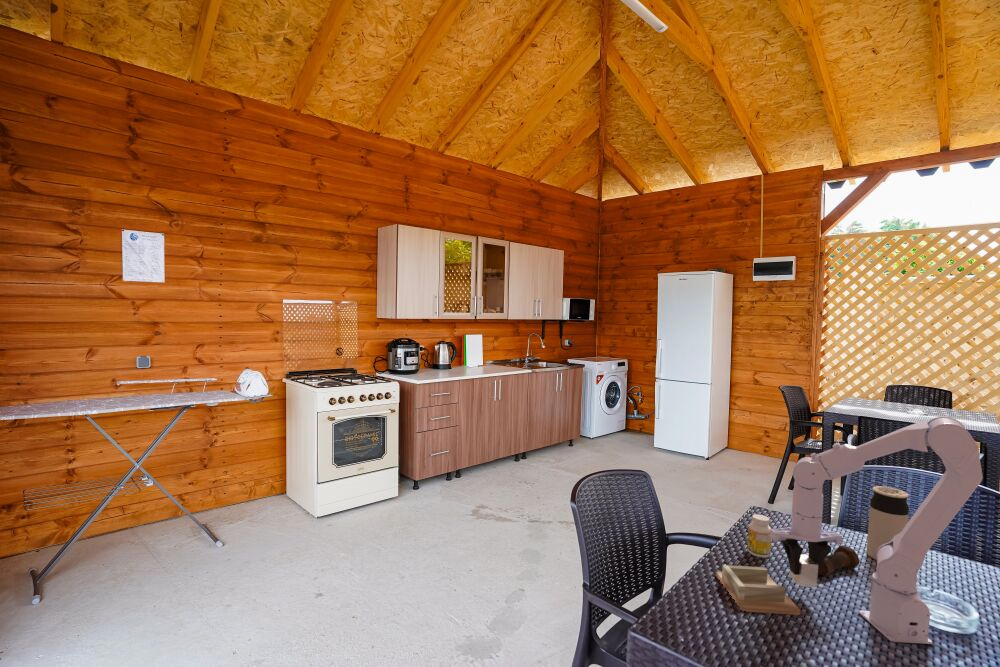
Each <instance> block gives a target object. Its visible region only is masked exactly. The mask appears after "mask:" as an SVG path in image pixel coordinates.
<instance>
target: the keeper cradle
mask: <svg viewBox="0 0 1000 667" xmlns="http://www.w3.org/2000/svg"><path fill="white" fill-rule="evenodd" d="M768 573H769V572H768V569H767V568H766V567H765V566H763V567H762V566H745V565H728V564H727V565H726V564H723V565H722V570H721V571H716V573H715V576H716V578H717V579H718V581H719V580H720V581H719V582H720V584H723V585H722V586H723V587H724V589H725V588H726V589H725V590H726V591H728V592H729V593H728V592H727V593H728V594H729V596H730V595H731V596H732V597H731V596H730V597H731V599H734V600H735V601H734V600H733V601H734V603H735V604H736V603H737V604H736V605H737V607H738V606H739V607H740V608H739V607H738V608H739V609H740V611H741V610H742V611H741V612H744V611H746V612H745V613H747V612H748V613H760V614H761V613H764V614H778V615H779V614H780V615H796V616H800V615H801V612H802V611H801V609H800V607H798V606H797V605H796V603H795V602H794V601H793V600H792V599H791V598H790V597H789V596H788V595H787V594H786V588H785V587H784V586H783V585H778V584H777V583H776V582H775V580H773V579H772V578H771V576H769V574H768Z"/></svg>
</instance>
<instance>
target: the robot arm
mask: <svg viewBox="0 0 1000 667" xmlns="http://www.w3.org/2000/svg"><path fill="white" fill-rule="evenodd" d="M928 447H930V448H931V449H932V451H933V452H935V454H936V455H938V457H939V458H940V460H941V461H942V464H943V466H944V467H945V472H944V473H943V474H942V476H941V477H940V478H939V479H938V481H937V483H936V484H935V485H934V486H933V488H932V489H931V491H930V492H929V493H928V495H927V496H926V497H925V498H924V500H923V502H922V503H921V504H920V505H919V506H918V508H917V509H916V510H915V512H914V513H913V515H912V516H911V518H909V519H908V523H907V524H906V526H905V527H904V528H903V530H902V531H901V532H900V533H899V534H897V535H895V536H894V537H893V539H892V540H891V541H890V542H888V543H885V544H883V545H881V546H880V547H879V548H878V549H877V552H876V557H877V560H876V564H877V565H876V567H875V571H874V572H873V573H872V576H871V589H870V602H869V610H859V611H858V613H859V614H860V616H862V617H863V618H864V619H865V620H866V621H867V622H869V623H870V624H871V625H872V626H873V627H874V628H875V629H876V630H877V631H879V633H881V635H883V636H884V637H885V638H886V639H887V640H889V641H890V642H892V643H907V644H923V645H924V644H925V645H932V644H933V641H932V640H931V639H930V638H929V633H930V632H929V631H930V617H931V612H930V608H929V606H927V604H926V603H925V601H923V600H922V599H921V596H920V595H919V591H918V589H919V588H918V585H917V583H918V573H919V571H920V569H921V568H922V566H923V564H924V561H925V558H926V556H927V553H928V551H929V550H930V549H931V548H932V547H933V545H934V544H935V543H936V541H937V540H938V539H939V538H940V536H941V535H942V534H943V533H944V531H945V529H946V528H947V527H948V526H949V524H950V523H951V522H952V521H953V520H954V518H955V517H956V515H957V514H958V513H959V511H960V510H961V509H962V508H963V506H964V505H965V504H966V502H967V501H968V500H969V499H970V497H971V496H972V494H973V493H974V492H975V490H976V489H977V488H978V487H979V485H980V484H981V483H982V481H983V478H984V476H983V472H982V471H983V470H982V464H981V463H982V462H981V458H980V448H979V446H978V444H977V442H976V440H975V439H974V438H973V436H972V435H971V433H970V432H969V431H968V430H967V428H966V427H965V426H964V424H963V423H962V422H960V421H959V420H958V419H956V418H953V417H950V416H936V417H933V418H931V419H930V420H928V422H927V420H923V421H919V422H915V423H912V424H910V425H907V426H903V427H902V428H899V429H897V430H894V431H892V432H890V433H887V434H885V435H882V436H879V437H876V438H875V439H872V440H870V441H867V442H864V443H863V444H860V445H857V446H855V445H851V444H848V443H844V444H840V443H838V442H836V443H835V444H833V445H832V448H830V449H828V450H824V451H823V452H820V453H816V452H813V453H810V454H809V456H808V457H807V456H805V457H802V458H800V459H799V460H797V462H796V464H795V466H794V467H793V470H792V476H793V479H794V482H793V487H794V488H793V490H792V505H791V520H790V521H791V526H789V527H780V528H771V529H770V538H771V541H774V542H779V541H780V542H781V544H782V546H783V548H784V551H785V553H786V557H787V560H788V565H789V572H790V571H791V572H792V573H794V574H795V575H798V572H799V561H800V556H801V554H802V553H803V550H804V549H803V547H801V546H800V543H799V542H807V546H808V547H807V549H808V556H809V557H810V558H811V559H812V560H813V561H815V562H816V563H817V564H818V571H819V569H820V566H821V564H822V562H823V561H824V559H825V558H826V556H829V554H831V552H832V546H830V545H829V543H834V544H836V545H843V544H842V543H843V542H842V541H843V535H842V534H840V533H839V532H837V531H829V530H823V529H822V526H823V511H824V493H823V485H824V483H825V481H826V480H827V481H828V480H829V481H832V480H836V479H838V478H841V477H845V476H848V475H850V474H853V473H856V472H859V471H862V470H863V469H864V466H865V463H866V462H867V461H871V460H875V459H877V458H880V457H884V456H888V455H890V454H891V455H892V454H894V453H897V452H901V451H904V450H907V449H911V450H914V451H919V452H924V453H928V452H929V451H928Z"/></svg>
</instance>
